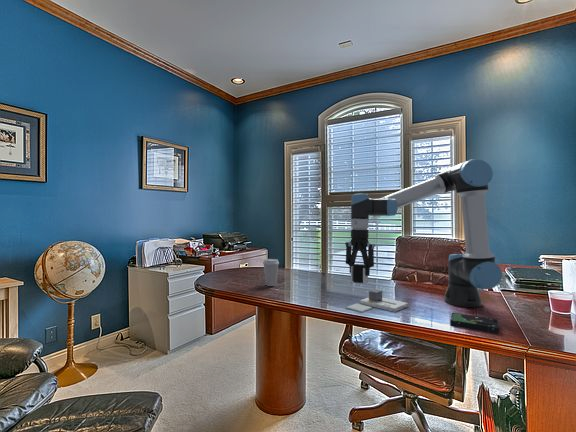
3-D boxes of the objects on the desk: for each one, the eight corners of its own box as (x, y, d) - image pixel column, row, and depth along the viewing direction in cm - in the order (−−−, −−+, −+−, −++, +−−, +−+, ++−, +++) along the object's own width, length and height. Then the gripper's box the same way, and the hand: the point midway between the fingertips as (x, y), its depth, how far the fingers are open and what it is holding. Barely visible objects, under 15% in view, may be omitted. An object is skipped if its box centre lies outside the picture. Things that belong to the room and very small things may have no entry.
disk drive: (496, 326, 110) (451, 318, 118) (497, 319, 110) (451, 311, 118) (499, 336, 101) (450, 326, 109) (499, 327, 101) (450, 319, 109)
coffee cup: (264, 283, 176) (264, 258, 176) (280, 284, 175) (280, 259, 175) (261, 287, 167) (261, 260, 167) (277, 287, 165) (277, 261, 166)
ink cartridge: (364, 282, 129) (365, 264, 129) (364, 283, 127) (365, 264, 127) (353, 281, 130) (353, 263, 131) (353, 282, 128) (353, 264, 128)
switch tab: (382, 299, 137) (382, 290, 138) (376, 301, 134) (376, 292, 134) (374, 297, 140) (374, 289, 140) (368, 299, 137) (369, 291, 137)
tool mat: (372, 308, 128) (372, 307, 128) (362, 312, 123) (362, 311, 123) (356, 304, 134) (356, 303, 134) (346, 308, 129) (346, 306, 129)
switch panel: (407, 306, 132) (407, 302, 132) (395, 312, 124) (395, 308, 124) (373, 298, 145) (373, 295, 145) (360, 303, 136) (360, 300, 136)
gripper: (337, 228, 133) (337, 279, 133) (374, 229, 120) (373, 286, 119) (347, 228, 138) (346, 277, 138) (383, 229, 125) (382, 284, 125)
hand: (359, 281), depth 129 cm, fingers closed on ink cartridge, 5 cm apart
